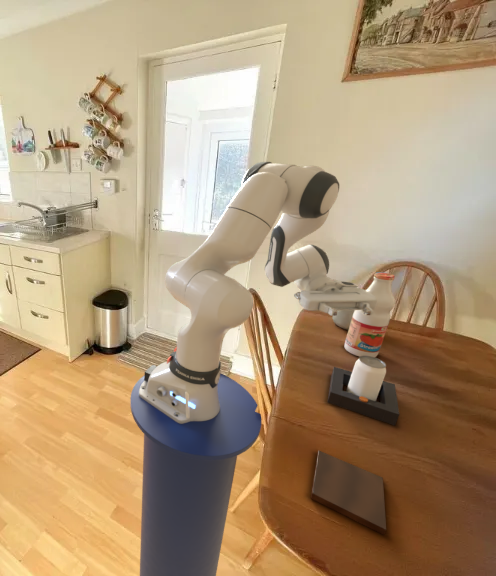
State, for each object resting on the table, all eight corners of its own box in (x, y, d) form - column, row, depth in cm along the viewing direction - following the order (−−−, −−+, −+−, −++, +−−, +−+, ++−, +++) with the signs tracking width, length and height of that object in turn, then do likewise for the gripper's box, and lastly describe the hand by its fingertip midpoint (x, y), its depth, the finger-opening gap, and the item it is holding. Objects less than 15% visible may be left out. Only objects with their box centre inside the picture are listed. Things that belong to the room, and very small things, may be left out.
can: (345, 400, 85) (357, 363, 81) (345, 387, 90) (356, 352, 86) (375, 410, 82) (389, 372, 77) (373, 396, 87) (386, 359, 82)
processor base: (327, 402, 85) (330, 390, 83) (331, 376, 95) (334, 365, 94) (394, 425, 77) (400, 413, 75) (390, 394, 87) (395, 382, 86)
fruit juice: (358, 342, 113) (382, 268, 103) (384, 357, 104) (413, 278, 94) (336, 345, 111) (358, 271, 101) (361, 360, 102) (387, 280, 92)
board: (310, 498, 60) (312, 493, 60) (317, 455, 69) (318, 450, 69) (383, 535, 54) (386, 529, 54) (380, 482, 63) (382, 477, 63)
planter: (367, 325, 125) (375, 300, 121) (366, 337, 116) (375, 311, 112) (330, 316, 132) (337, 293, 128) (327, 328, 123) (334, 302, 119)
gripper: (293, 284, 100) (316, 303, 88) (360, 282, 99) (393, 302, 86) (289, 301, 103) (311, 323, 90) (355, 300, 101) (386, 322, 89)
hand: (352, 313), depth 88 cm, fingers open, 8 cm apart
